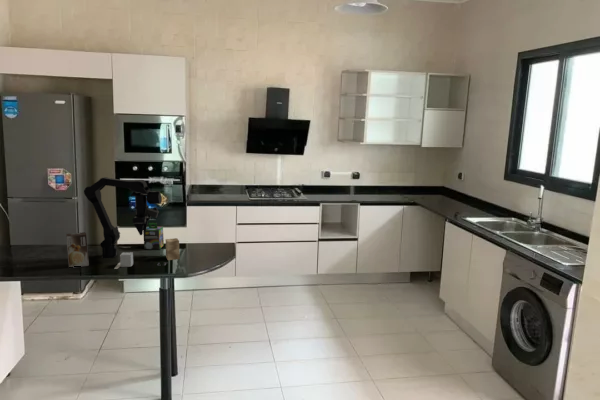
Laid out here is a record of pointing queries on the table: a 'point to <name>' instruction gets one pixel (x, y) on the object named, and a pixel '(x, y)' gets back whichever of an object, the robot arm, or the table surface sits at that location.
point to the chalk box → (153, 237)
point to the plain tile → (117, 266)
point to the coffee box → (77, 249)
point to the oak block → (172, 249)
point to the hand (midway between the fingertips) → (143, 233)
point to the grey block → (126, 259)
